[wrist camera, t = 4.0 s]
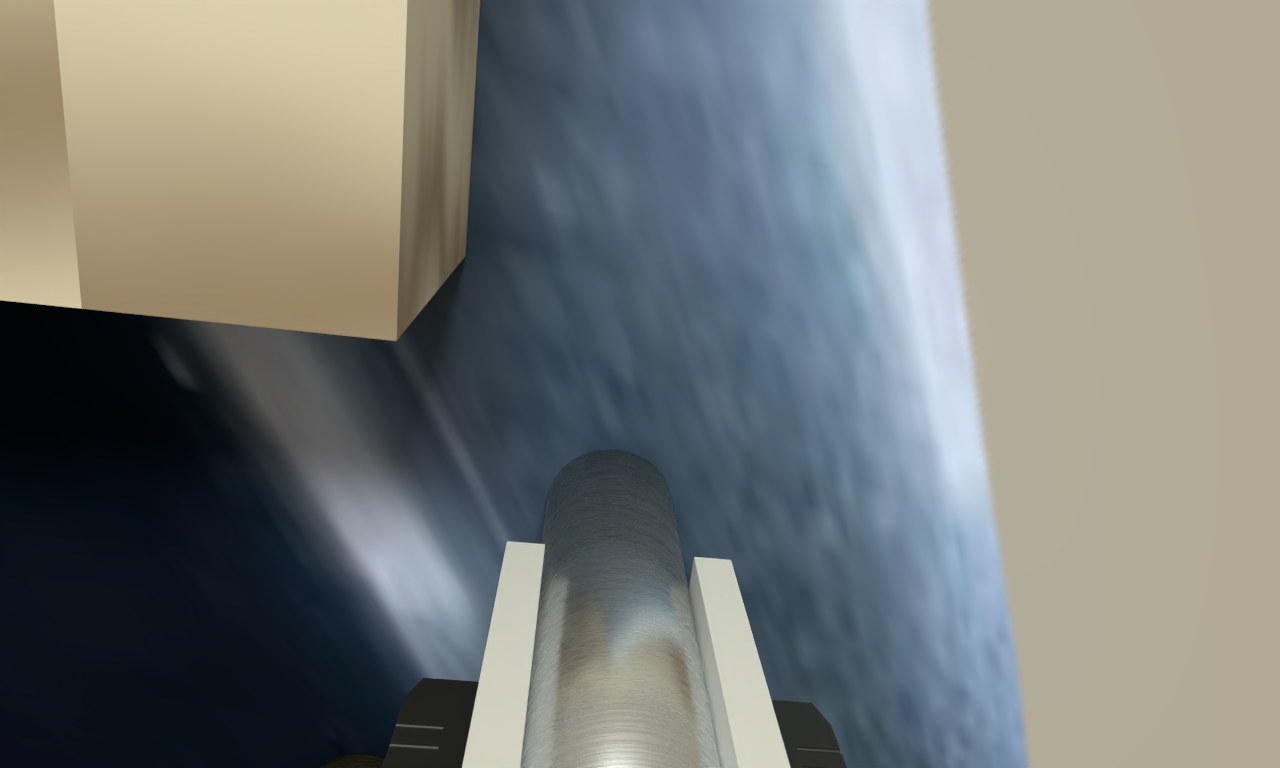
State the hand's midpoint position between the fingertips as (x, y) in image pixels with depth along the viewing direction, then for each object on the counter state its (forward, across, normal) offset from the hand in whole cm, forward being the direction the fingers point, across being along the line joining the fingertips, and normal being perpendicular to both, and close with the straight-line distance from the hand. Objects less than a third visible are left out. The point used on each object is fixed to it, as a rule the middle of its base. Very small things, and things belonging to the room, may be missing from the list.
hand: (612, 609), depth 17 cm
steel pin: (+5, 0, 0) cm, 5 cm away
